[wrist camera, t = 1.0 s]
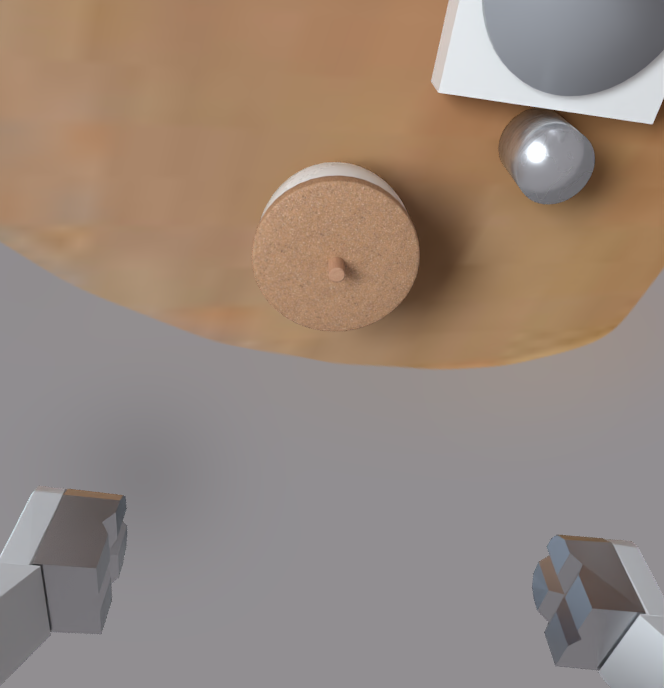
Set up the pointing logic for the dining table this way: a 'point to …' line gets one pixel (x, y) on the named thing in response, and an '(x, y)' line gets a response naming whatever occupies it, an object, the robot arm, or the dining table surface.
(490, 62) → the kitchen scale
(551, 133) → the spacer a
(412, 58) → the dining table surface
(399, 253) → the lidded jar
